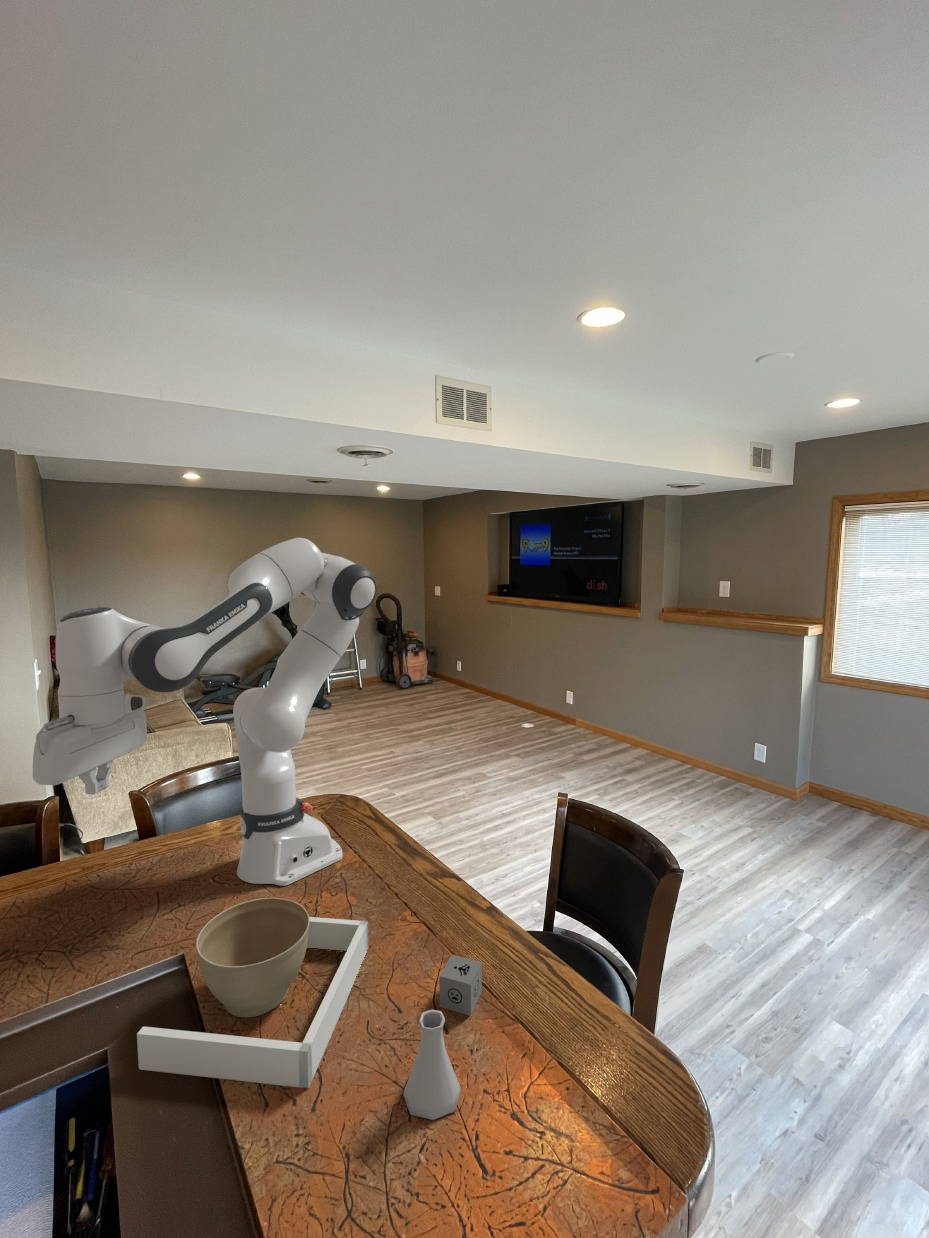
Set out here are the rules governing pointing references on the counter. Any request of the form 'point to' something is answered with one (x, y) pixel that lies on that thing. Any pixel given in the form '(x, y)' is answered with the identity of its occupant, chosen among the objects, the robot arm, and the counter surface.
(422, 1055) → the flask
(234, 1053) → the box
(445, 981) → the dice cube
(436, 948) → the counter surface
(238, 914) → the planter bowl
